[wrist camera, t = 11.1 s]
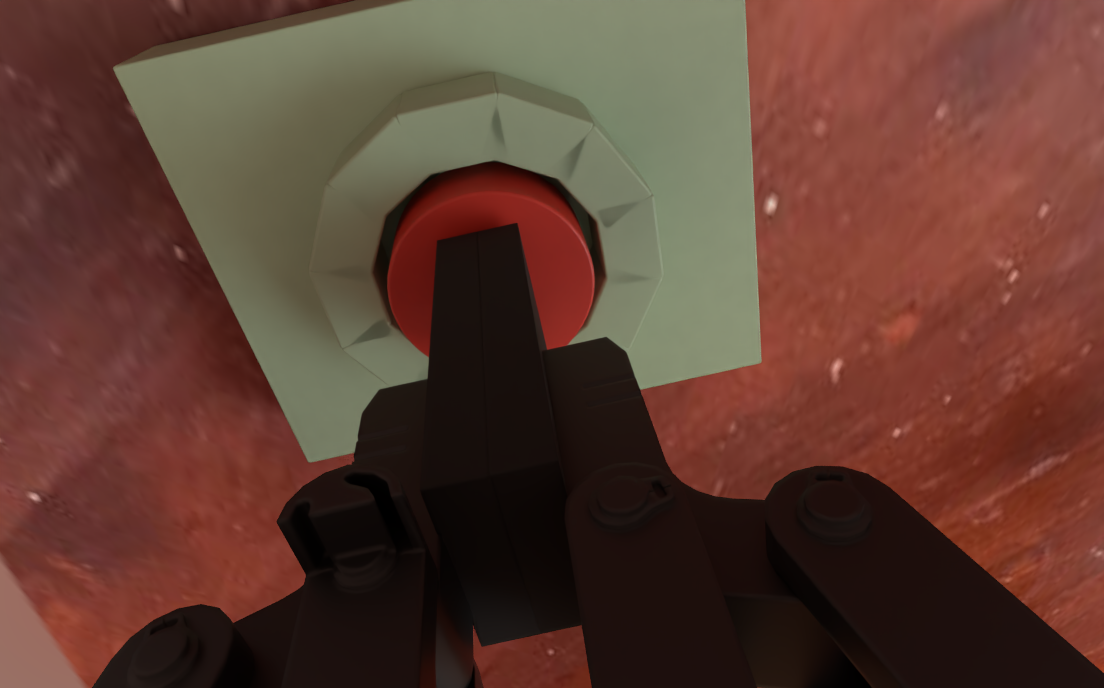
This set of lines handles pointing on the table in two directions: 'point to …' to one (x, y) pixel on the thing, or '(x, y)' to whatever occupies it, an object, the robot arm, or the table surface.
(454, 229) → the bell button
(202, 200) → the block
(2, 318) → the table surface
